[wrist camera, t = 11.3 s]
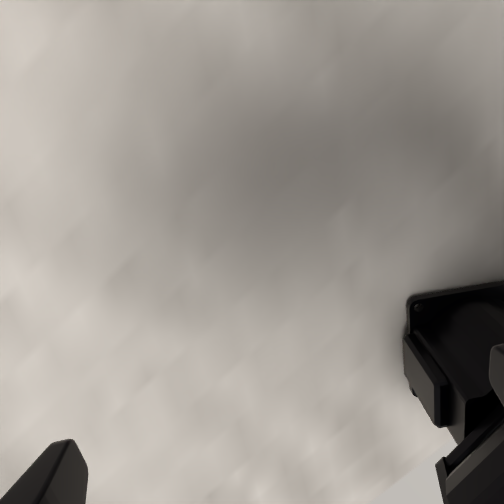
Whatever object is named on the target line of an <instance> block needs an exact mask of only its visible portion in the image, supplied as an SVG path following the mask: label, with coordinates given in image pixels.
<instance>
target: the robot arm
mask: <svg viewBox="0 0 504 504" xmlns="http://www.w3.org/2000/svg"><path fill="white" fill-rule="evenodd" d="M417 304H420V306H419V307H418V308H414V306H415V305H417ZM406 307H407V334H406V335H405V336H404V338H403V354H404V374H405V376H406V377H407V379H408V381H409V387H410V390H411V392H412V394H413V395H414V396H416V397H418V398H419V400H420V402H421V403H422V405H423V407H424V409H425V410H426V412H427V414H428V415H429V417H430V419H431V421H432V422H433V424H434V425H435V426H437V427H438V428H443V427H447V428H448V430H449V432H450V433H451V435H452V437H453V438H454V440H455V441H456V443H457V444H458V446H457V447H456V448H455V449H454V450H453V451H452V452H451V453H450V454H449V455H448V456H447V457H442V458H441V459H440V460H439V461H438V462H437V463H436V464H435V467H436V471H437V475H438V480H439V485H440V489H441V494H442V498H443V503H444V504H504V281H500V282H494V283H488V284H482V285H476V286H471V287H465V288H459V289H453V290H447V291H442V292H436V293H430V294H424V295H418V296H414V297H412V298H410V299H409V300H408V302H407V306H406ZM87 483H88V468H87V464H86V462H85V460H84V458H83V456H82V454H81V452H80V450H79V448H78V446H77V444H76V443H75V441H74V440H72V439H66V440H61V441H57V442H54V443H52V444H50V445H49V446H48V447H47V448H46V450H45V451H44V452H43V453H42V454H41V455H40V456H39V457H38V458H37V460H36V461H35V462H34V463H33V464H32V465H31V466H30V467H29V468H28V469H27V471H26V472H25V473H24V474H23V475H22V476H21V477H20V478H19V479H18V480H17V482H16V483H15V484H14V485H13V486H12V487H11V488H10V489H9V490H8V492H7V493H6V494H5V495H4V496H3V497H2V498H1V499H0V504H85V503H86V493H87Z"/></svg>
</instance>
